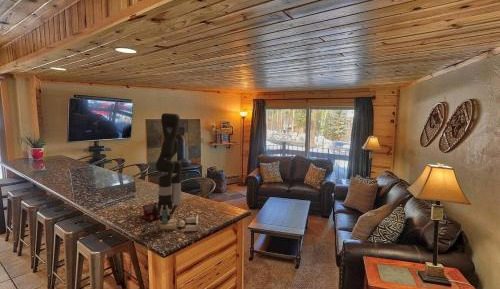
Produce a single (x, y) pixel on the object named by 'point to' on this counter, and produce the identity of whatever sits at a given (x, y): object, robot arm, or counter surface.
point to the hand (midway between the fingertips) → (165, 220)
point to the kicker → (167, 222)
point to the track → (155, 225)
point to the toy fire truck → (150, 212)
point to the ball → (181, 223)
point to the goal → (192, 227)
